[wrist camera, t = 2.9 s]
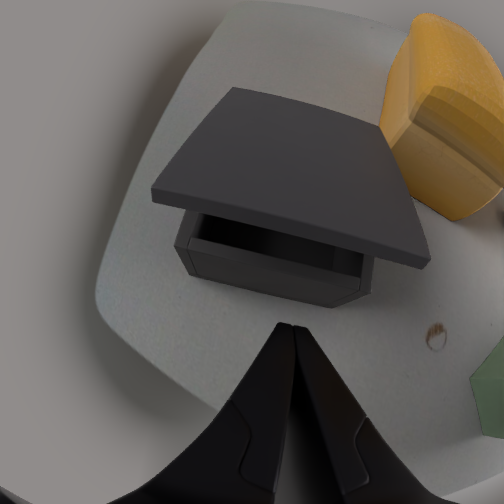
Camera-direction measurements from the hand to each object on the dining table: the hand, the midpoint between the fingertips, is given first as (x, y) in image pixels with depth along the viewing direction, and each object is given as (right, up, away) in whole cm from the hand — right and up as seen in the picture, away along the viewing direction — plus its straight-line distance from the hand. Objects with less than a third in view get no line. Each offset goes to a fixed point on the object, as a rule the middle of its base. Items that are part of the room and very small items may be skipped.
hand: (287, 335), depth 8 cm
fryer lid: (+2, +8, +7) cm, 11 cm away
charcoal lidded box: (+1, +5, +16) cm, 17 cm away
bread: (+21, +18, +22) cm, 36 cm away
